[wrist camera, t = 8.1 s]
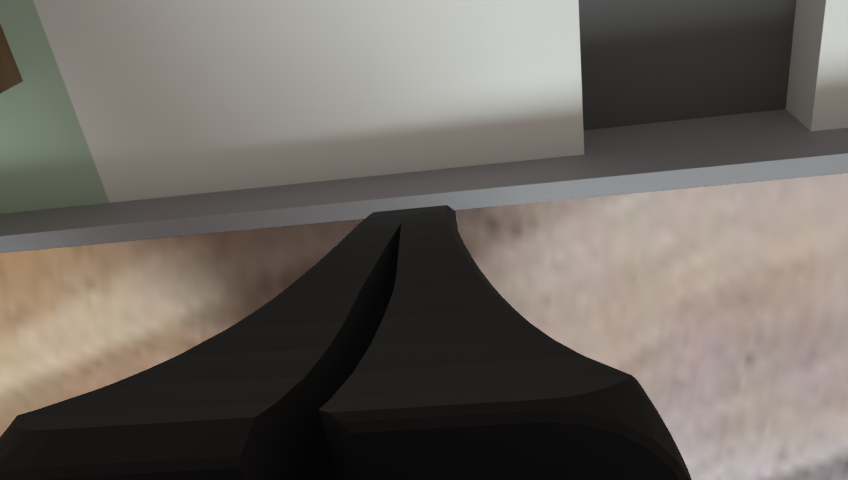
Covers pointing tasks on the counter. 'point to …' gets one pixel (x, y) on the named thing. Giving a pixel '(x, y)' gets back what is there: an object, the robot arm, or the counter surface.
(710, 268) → the counter surface
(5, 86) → the walnut block
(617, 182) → the box
